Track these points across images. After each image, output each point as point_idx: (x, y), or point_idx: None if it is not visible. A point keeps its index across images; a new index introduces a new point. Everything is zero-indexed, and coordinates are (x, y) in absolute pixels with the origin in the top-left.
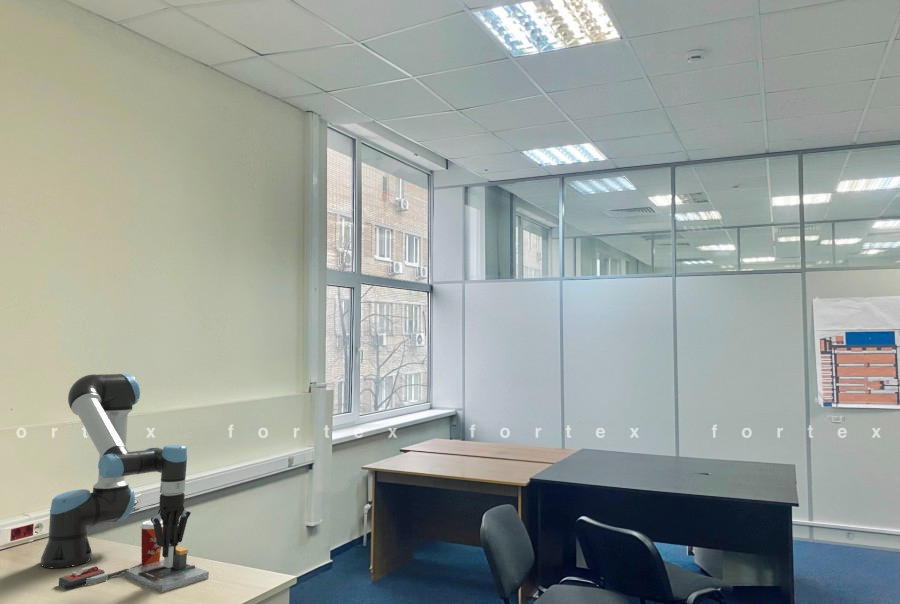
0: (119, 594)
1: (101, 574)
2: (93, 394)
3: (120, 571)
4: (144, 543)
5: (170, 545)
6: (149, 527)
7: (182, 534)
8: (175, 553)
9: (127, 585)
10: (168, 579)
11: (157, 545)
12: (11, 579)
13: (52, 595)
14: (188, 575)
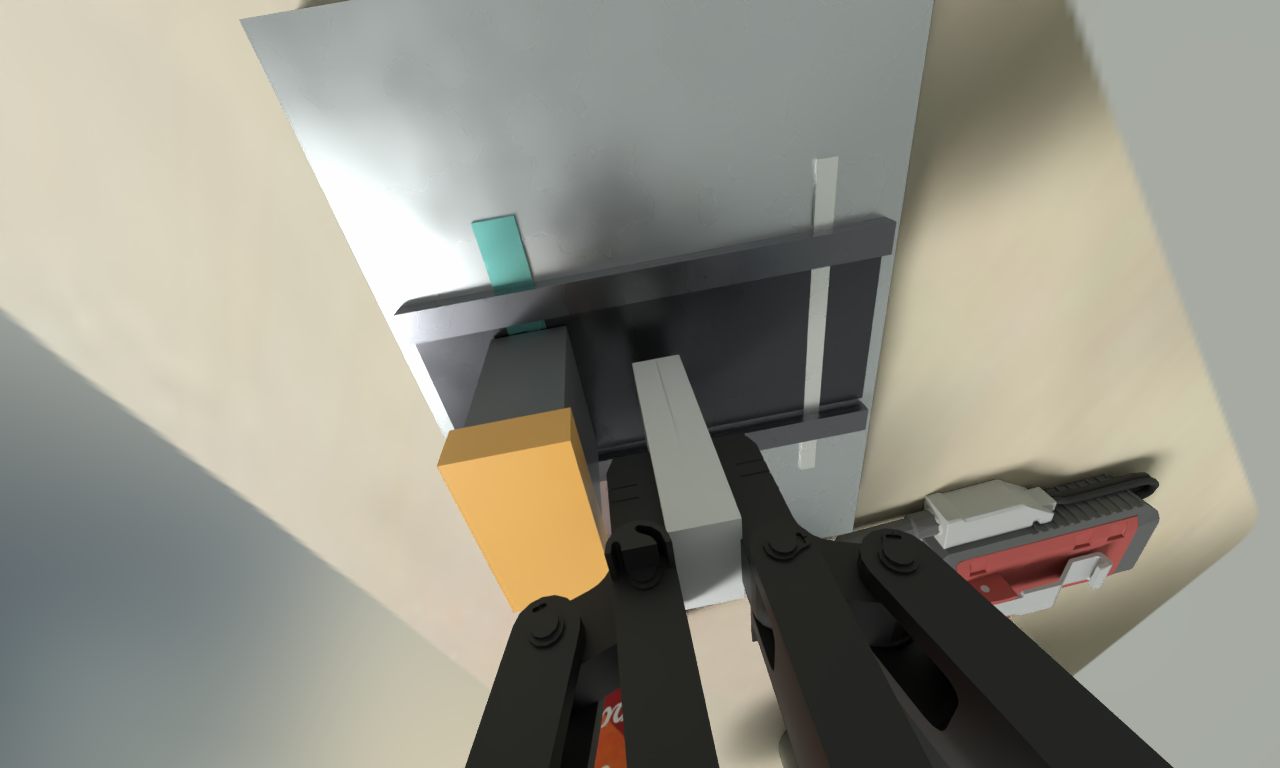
0: (1088, 204)
1: (965, 538)
2: None
3: None
4: None
5: (683, 582)
6: None
7: (492, 763)
8: (593, 488)
9: (924, 355)
10: (768, 114)
11: (619, 715)
12: (1087, 657)
13: (1213, 440)
14: (534, 79)
